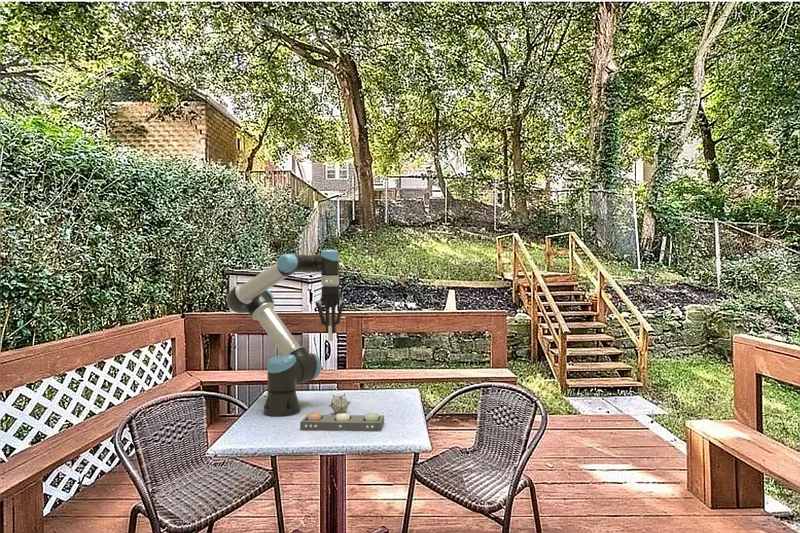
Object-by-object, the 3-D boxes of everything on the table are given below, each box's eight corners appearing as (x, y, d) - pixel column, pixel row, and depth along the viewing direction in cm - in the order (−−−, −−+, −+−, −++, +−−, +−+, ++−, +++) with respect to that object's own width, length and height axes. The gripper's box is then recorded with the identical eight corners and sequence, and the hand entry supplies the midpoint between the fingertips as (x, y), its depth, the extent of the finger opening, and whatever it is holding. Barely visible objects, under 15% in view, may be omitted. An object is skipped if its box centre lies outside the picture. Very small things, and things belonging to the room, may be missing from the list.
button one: (335, 426, 206) (335, 416, 207) (337, 422, 211) (337, 412, 212) (348, 426, 206) (348, 416, 206) (350, 423, 211) (350, 413, 211)
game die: (342, 424, 227) (345, 407, 221) (324, 415, 229) (326, 399, 223) (351, 409, 234) (355, 393, 229) (333, 401, 236) (336, 385, 230)
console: (299, 430, 204) (299, 422, 204) (307, 422, 215) (307, 414, 215) (380, 431, 202) (380, 423, 202) (384, 423, 213) (383, 415, 213)
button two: (364, 426, 206) (364, 416, 206) (366, 423, 211) (366, 413, 211) (377, 426, 205) (377, 416, 205) (379, 423, 210) (379, 413, 210)
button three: (306, 426, 207) (306, 415, 207) (309, 422, 212) (309, 412, 212) (319, 426, 207) (319, 416, 207) (322, 422, 212) (322, 412, 212)
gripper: (313, 286, 234) (313, 341, 233) (343, 285, 233) (344, 341, 232) (317, 285, 241) (317, 339, 241) (346, 285, 240) (347, 339, 240)
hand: (330, 340), depth 236 cm, fingers closed
